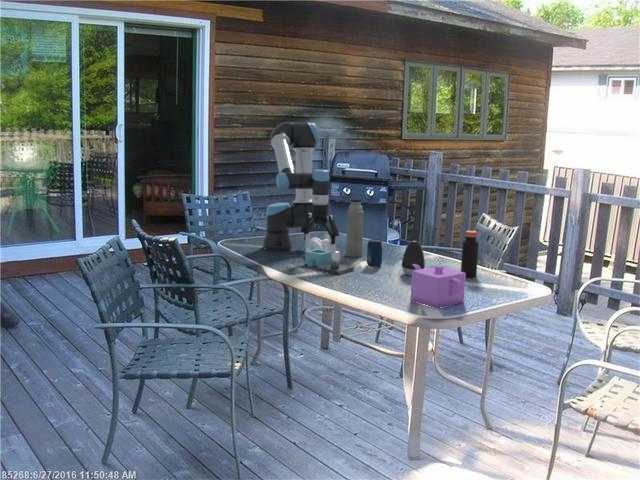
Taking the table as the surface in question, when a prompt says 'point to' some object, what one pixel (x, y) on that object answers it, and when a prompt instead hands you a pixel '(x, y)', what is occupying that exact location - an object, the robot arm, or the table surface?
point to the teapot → (437, 286)
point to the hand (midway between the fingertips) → (319, 249)
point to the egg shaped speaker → (413, 257)
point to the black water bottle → (470, 254)
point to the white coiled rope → (318, 244)
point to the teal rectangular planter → (317, 257)
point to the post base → (335, 270)
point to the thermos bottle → (354, 229)
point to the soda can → (374, 253)
